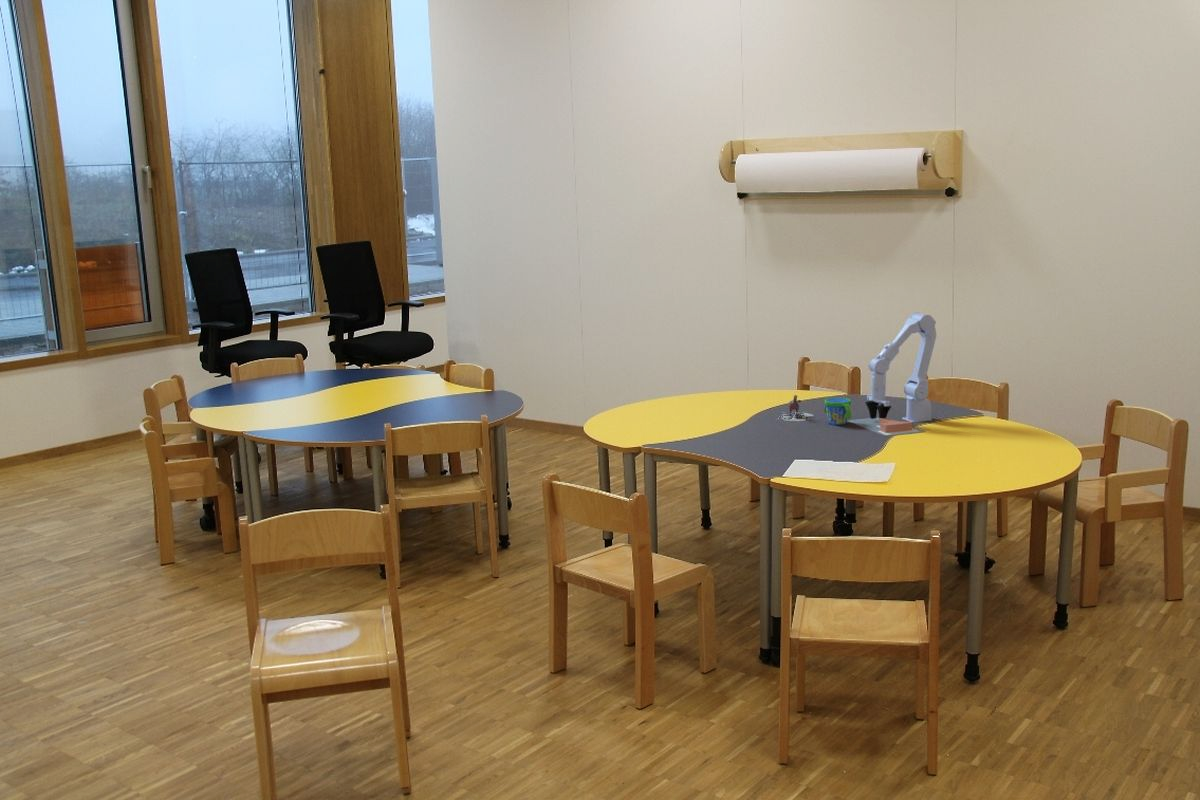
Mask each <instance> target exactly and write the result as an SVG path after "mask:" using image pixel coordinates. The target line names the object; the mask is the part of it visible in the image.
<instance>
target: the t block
mask: <svg viewBox="0 0 1200 800" xmlns="http://www.w3.org/2000/svg"><path fill="white" fill-rule="evenodd" d="M895 420H896V419H894V420H893V418H891V419H890V417H888V418H879V426H880V431H882V432H884V433H889V432H899V431H908V430H912V427H913V423H914V422H910V421H907V420H901V421H899V422H898V420H896V421H895Z"/></svg>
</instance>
